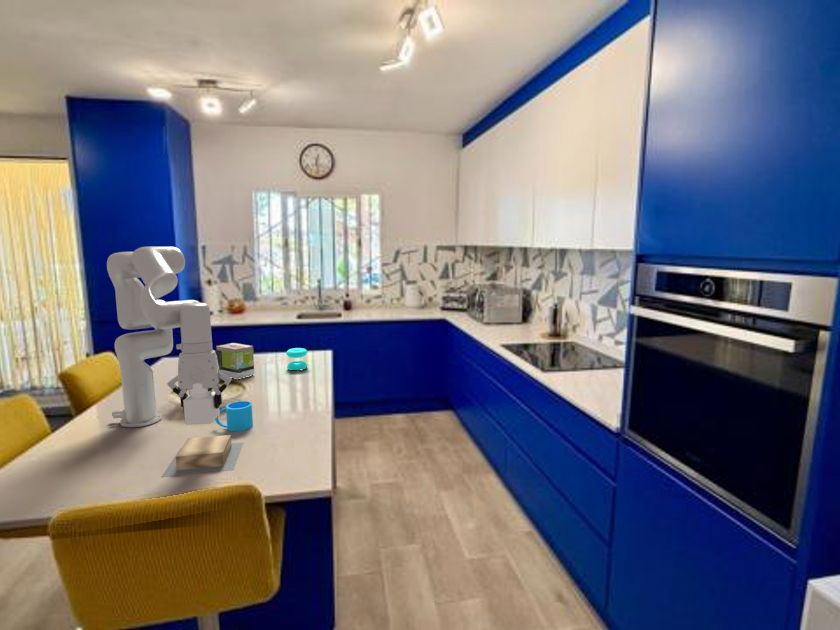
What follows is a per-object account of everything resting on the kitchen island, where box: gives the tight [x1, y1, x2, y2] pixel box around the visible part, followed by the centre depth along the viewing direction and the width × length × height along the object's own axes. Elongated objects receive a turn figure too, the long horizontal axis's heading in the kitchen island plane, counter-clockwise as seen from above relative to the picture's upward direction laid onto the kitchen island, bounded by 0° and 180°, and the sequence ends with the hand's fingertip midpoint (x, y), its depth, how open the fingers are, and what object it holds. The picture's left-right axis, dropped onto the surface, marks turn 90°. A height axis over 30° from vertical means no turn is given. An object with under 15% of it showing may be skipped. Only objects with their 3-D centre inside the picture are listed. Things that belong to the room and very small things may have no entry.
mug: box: [214, 400, 254, 432], centre depth 153 cm, size 12×8×8 cm
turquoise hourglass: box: [285, 347, 309, 371], centre depth 227 cm, size 10×10×10 cm
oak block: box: [175, 434, 232, 470], centre depth 130 cm, size 12×12×4 cm
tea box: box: [215, 342, 255, 379], centre depth 215 cm, size 15×10×15 cm, turn 58°
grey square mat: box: [161, 442, 244, 478], centre depth 131 cm, size 18×18×1 cm
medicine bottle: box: [182, 383, 221, 426], centre depth 128 cm, size 7×7×12 cm
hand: (202, 407), depth 128 cm, fingers closed on medicine bottle, 7 cm apart
